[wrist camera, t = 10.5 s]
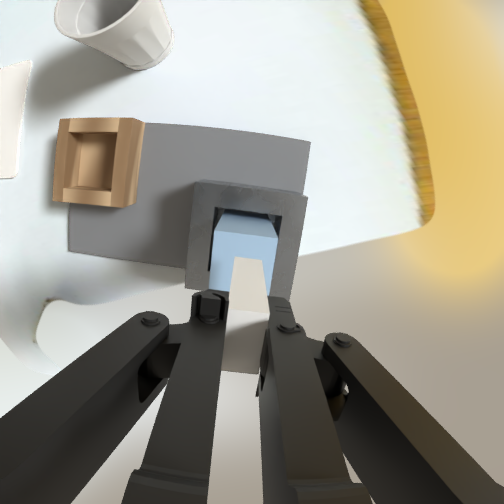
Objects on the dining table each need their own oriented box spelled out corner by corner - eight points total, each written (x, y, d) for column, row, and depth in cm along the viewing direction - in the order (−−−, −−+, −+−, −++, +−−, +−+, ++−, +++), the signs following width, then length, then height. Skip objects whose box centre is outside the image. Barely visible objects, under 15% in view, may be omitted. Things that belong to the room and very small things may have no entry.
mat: (72, 248, 31) (69, 250, 30) (80, 123, 28) (77, 122, 27) (286, 278, 32) (287, 281, 32) (309, 142, 29) (310, 141, 28)
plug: (220, 250, 30) (208, 289, 21) (225, 209, 29) (214, 230, 19) (261, 255, 30) (268, 297, 21) (267, 214, 29) (278, 238, 20)
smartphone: (32, 58, 25) (16, 177, 28) (35, 60, 25) (19, 177, 29) (-4, 69, 24) (-19, 178, 28) (-1, 70, 25) (-15, 178, 29)
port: (193, 269, 31) (184, 288, 26) (203, 179, 29) (194, 181, 24) (282, 281, 32) (289, 301, 27) (298, 192, 29) (308, 196, 24)
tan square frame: (69, 196, 29) (52, 200, 25) (77, 122, 27) (59, 119, 23) (136, 202, 29) (123, 207, 26) (145, 122, 27) (133, 117, 24)
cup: (135, 92, 27) (79, 58, 15) (98, 47, 25) (41, 6, 14) (197, 43, 26) (172, -16, 14) (156, 1, 24) (120, -58, 12)
